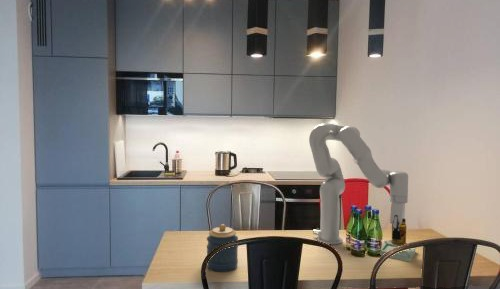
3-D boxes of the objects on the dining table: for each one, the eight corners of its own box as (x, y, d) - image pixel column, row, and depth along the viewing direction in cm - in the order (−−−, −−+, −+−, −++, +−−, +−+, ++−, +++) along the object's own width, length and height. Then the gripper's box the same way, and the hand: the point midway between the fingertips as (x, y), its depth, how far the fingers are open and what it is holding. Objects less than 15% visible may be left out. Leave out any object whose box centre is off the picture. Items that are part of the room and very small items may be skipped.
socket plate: (377, 254, 160) (377, 248, 160) (384, 246, 172) (384, 240, 171) (410, 261, 152) (410, 255, 152) (415, 252, 164) (415, 246, 164)
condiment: (397, 247, 157) (398, 220, 156) (384, 241, 165) (385, 216, 164) (410, 245, 159) (411, 219, 159) (397, 239, 167) (398, 214, 167)
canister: (207, 273, 138) (208, 229, 137) (205, 260, 151) (205, 220, 150) (240, 271, 141) (240, 228, 139) (235, 258, 153) (235, 219, 152)
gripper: (393, 194, 170) (392, 231, 171) (386, 201, 155) (385, 240, 156) (410, 196, 166) (409, 233, 167) (404, 203, 151) (403, 243, 152)
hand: (397, 236), depth 161 cm, fingers closed on condiment, 6 cm apart
